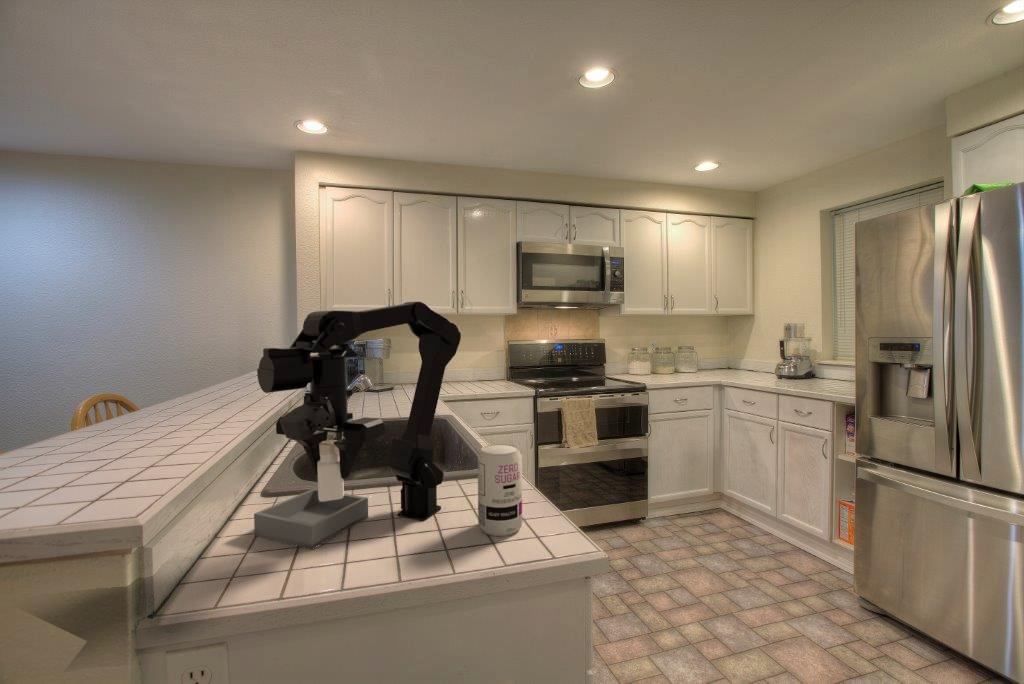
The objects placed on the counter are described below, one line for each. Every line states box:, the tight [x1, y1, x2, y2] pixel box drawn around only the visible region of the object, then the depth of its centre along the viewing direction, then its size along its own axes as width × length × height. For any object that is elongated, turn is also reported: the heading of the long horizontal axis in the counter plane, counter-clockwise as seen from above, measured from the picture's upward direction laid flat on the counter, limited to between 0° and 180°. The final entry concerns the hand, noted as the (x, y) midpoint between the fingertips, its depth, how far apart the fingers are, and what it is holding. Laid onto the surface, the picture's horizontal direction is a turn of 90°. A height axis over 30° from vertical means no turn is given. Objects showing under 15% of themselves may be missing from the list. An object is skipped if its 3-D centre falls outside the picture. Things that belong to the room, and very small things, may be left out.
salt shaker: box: [317, 439, 345, 502], centre depth 78 cm, size 4×4×10 cm
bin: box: [253, 487, 369, 550], centre depth 88 cm, size 14×14×4 cm
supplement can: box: [477, 443, 523, 537], centre depth 86 cm, size 8×8×15 cm
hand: (331, 476), depth 79 cm, fingers closed on salt shaker, 5 cm apart
